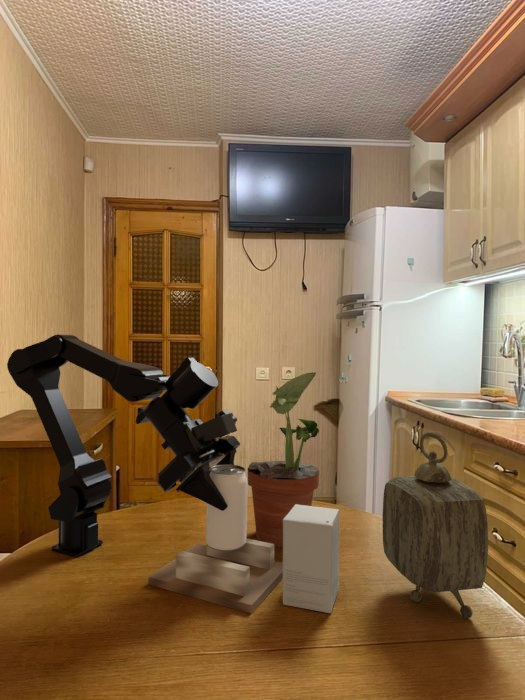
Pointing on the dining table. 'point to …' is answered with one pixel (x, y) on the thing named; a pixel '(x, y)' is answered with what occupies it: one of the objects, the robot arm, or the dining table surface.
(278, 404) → the potted plant
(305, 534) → the supplement box
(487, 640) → the dining table surface
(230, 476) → the can
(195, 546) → the slot block
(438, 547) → the tabletop clock
